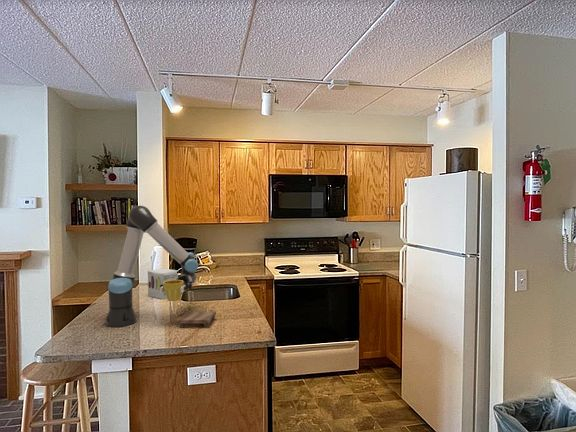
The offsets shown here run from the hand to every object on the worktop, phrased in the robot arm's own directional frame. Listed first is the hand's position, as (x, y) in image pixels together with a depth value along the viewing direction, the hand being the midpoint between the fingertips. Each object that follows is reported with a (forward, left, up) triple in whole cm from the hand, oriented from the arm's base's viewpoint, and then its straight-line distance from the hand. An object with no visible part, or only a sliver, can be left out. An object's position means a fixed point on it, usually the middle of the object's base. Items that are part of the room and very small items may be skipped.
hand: (171, 290), depth 200 cm
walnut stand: (+13, +4, -18) cm, 23 cm away
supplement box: (-28, +65, -19) cm, 73 cm away
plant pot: (0, +4, -6) cm, 8 cm away
